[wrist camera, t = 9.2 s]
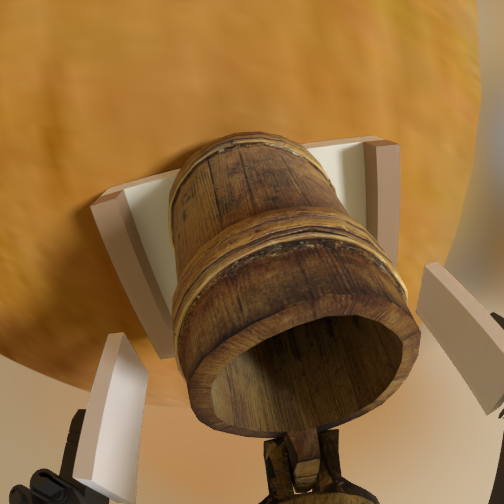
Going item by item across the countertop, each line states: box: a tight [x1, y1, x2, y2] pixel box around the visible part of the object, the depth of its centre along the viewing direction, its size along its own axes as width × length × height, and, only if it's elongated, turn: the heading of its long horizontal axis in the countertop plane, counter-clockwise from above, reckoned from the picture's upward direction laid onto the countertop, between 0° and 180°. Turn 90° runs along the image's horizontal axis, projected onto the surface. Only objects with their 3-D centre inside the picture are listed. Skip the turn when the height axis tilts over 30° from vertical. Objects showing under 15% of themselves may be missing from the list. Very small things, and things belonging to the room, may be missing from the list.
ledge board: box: [90, 136, 401, 359], centre depth 17 cm, size 11×16×3 cm
